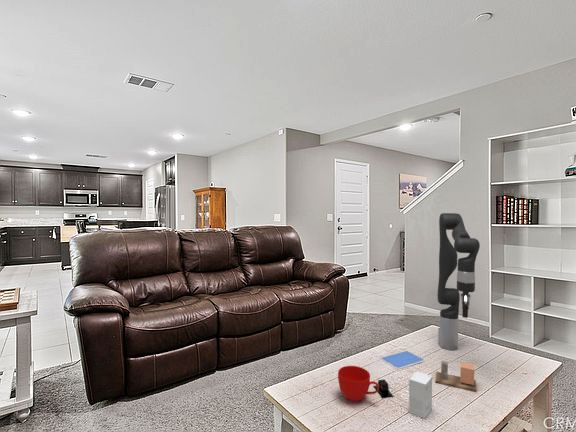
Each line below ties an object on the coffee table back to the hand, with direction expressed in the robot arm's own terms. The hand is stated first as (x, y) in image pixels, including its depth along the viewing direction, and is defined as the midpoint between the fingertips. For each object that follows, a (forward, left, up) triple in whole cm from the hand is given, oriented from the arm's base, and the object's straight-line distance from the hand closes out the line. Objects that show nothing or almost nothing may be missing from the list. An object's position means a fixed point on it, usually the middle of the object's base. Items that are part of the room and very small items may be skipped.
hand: (465, 317), depth 154 cm
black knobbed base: (+1, -45, -28) cm, 53 cm away
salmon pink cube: (+8, -7, -25) cm, 27 cm away
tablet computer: (-20, -19, -28) cm, 39 cm away
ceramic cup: (+3, -58, -27) cm, 64 cm away
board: (+5, -10, -27) cm, 29 cm away
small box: (+17, -39, -27) cm, 51 cm away
